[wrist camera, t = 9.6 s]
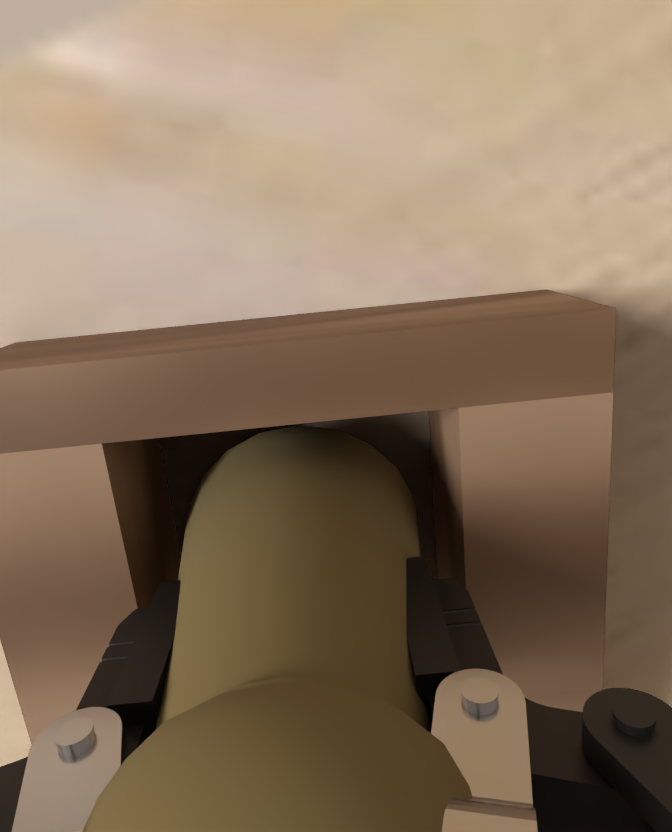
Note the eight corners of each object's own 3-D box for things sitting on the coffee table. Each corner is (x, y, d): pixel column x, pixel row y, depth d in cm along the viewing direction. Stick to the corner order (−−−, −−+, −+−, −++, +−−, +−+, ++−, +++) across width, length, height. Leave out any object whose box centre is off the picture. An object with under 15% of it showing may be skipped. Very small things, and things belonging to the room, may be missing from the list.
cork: (215, 397, 15) (-24, 803, 4) (451, 460, 16) (732, 942, 5) (164, 608, 17) (-100, 1267, 6) (379, 657, 17) (479, 1327, 7)
